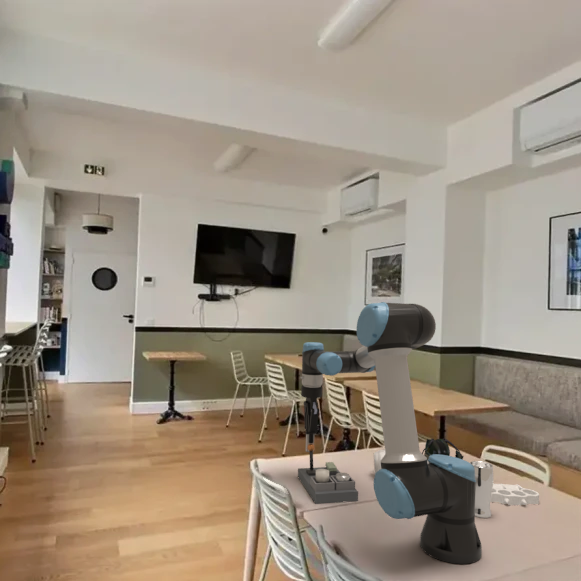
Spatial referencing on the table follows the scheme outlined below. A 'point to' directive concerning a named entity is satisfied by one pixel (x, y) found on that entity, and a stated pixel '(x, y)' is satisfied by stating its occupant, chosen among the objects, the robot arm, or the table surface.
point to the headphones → (439, 448)
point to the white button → (322, 475)
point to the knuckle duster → (513, 495)
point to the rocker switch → (331, 466)
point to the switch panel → (327, 487)
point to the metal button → (342, 477)
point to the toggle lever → (311, 455)
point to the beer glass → (483, 488)
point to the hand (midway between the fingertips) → (309, 451)
